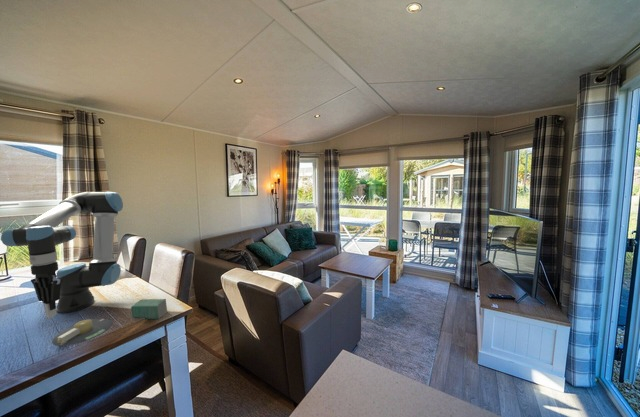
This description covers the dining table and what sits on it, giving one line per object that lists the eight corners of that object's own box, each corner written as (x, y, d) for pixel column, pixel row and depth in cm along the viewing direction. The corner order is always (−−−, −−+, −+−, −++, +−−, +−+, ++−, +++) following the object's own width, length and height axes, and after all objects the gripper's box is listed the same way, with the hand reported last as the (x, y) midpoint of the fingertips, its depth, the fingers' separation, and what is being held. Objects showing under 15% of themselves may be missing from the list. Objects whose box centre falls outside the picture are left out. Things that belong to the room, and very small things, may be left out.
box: (142, 311, 132) (140, 298, 131) (167, 311, 132) (166, 298, 131) (131, 319, 124) (130, 305, 123) (158, 319, 125) (157, 305, 124)
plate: (38, 347, 104) (37, 344, 104) (86, 320, 124) (85, 317, 124) (82, 349, 103) (81, 346, 102) (123, 321, 122) (123, 318, 122)
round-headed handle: (84, 326, 116) (83, 319, 116) (96, 327, 116) (95, 319, 115) (52, 345, 103) (51, 337, 103) (65, 346, 103) (64, 337, 102)
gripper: (19, 265, 100) (27, 320, 102) (45, 266, 98) (53, 322, 100) (42, 259, 107) (49, 310, 110) (67, 260, 105) (74, 313, 108)
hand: (51, 316), depth 105 cm, fingers closed
